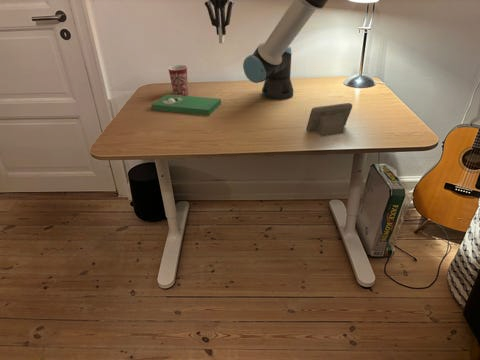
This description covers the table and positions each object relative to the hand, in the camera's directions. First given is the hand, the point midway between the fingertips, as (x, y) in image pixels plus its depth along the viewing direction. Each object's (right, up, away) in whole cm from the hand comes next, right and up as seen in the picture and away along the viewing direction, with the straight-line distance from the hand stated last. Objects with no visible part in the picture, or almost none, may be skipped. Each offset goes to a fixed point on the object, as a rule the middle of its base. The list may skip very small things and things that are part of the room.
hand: (221, 42), depth 158 cm
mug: (-21, -19, +17) cm, 33 cm away
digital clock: (+41, -44, -26) cm, 65 cm away
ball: (-23, -26, +2) cm, 35 cm away
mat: (-16, -29, +1) cm, 33 cm away
